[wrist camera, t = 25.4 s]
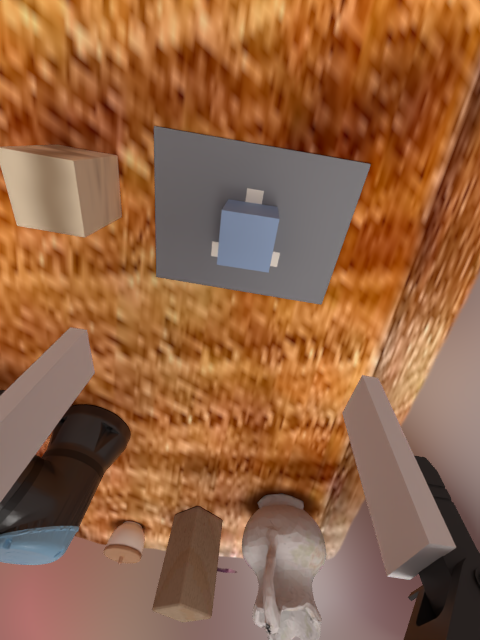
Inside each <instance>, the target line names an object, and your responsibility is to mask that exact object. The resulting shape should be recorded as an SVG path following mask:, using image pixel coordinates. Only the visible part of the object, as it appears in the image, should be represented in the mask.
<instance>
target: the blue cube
mask: <svg viewBox="0 0 480 640" xmlns="http://www.w3.org/2000/svg"><path fill="white" fill-rule="evenodd" d="M278 224H279V213H278V207H275V206H269V205H262V204H256V203H249V202H243V201H237V200H230V199H228V201H227V202H226V204H225V206H224V207H223V209H222V213H221V224H220V235H219V246H218V257H217V265H222V266H229V267H235V268H242V269H248V270H255V271H261V272H268V273H269V269H270V264H271V259H272V254H273V249H274V244H275V239H276V234H277V229H278Z"/></svg>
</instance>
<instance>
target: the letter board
mask: <svg viewBox="0 0 480 640" xmlns="http://www.w3.org/2000/svg"><path fill="white" fill-rule="evenodd" d="M154 164H155V223H156V277H160V278H166V279H172V280H178V281H184V282H190V283H196V284H202V285H208V286H214V287H220V288H226V289H232V290H238V291H244V292H250V293H255V294H261V295H267V296H273V297H279V298H285V299H291V300H297V301H303V302H309V303H315V304H322V301H323V299H324V296H325V293H326V290H327V287H328V284H329V282H330V279H331V276H332V273H333V270H334V267H335V264H336V262H337V259H338V256H339V253H340V250H341V247H342V245H343V242H344V239H345V236H346V233H347V230H348V228H349V225H350V222H351V219H352V216H353V213H354V211H355V208H356V205H357V202H358V199H359V196H360V193H361V191H362V188H363V185H364V182H365V179H366V176H367V174H368V171H369V168H370V165H371V164H368V163H362V162H357V161H351V160H345V159H339V158H334V157H328V156H322V155H317V154H311V153H305V152H299V151H294V150H288V149H282V148H277V147H271V146H265V145H259V144H254V143H248V142H242V141H237V140H231V139H225V138H220V137H214V136H208V135H202V134H197V133H191V132H185V131H180V130H174V129H168V128H162V127H157V126H154ZM228 199H230V200H237V201H243V202H249V203H256V204H262V205H269V206H275V207H278V213H279V224H278V229H277V234H276V239H275V244H274V249H273V254H272V259H271V264H270V269H269V273H268V272H261V271H255V270H248V269H242V268H235V267H229V266H222V265H217V257H218V246H219V235H220V224H221V213H222V209H223V207H224V206H225V204H226V202H227V201H228Z"/></svg>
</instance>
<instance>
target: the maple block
mask: <svg viewBox="0 0 480 640" xmlns="http://www.w3.org/2000/svg"><path fill="white" fill-rule="evenodd" d="M0 165H1V169H2V173H3V176H4V180H5V183H6V187H7V191H8V194H9V198H10V202H11V205H12V209H13V212H14V216H15V220H16V223H17V226H22V227H28V228H33V229H39V230H45V231H51V232H56V233H62V234H68V235H74V236H79V237H87V236H88V235H90V234H92V233H94V232H96V231H97V230H99V229H101V228H103V227H105V226H107V225H108V224H110V223H112V222H114V221H116V220H117V219H119V218H121V217H122V210H121V197H120V184H119V170H118V157H117V155H113V154H107V153H101V152H96V151H90V150H85V149H79V148H73V147H68V146H62V145H34V146H7V147H0Z"/></svg>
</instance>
